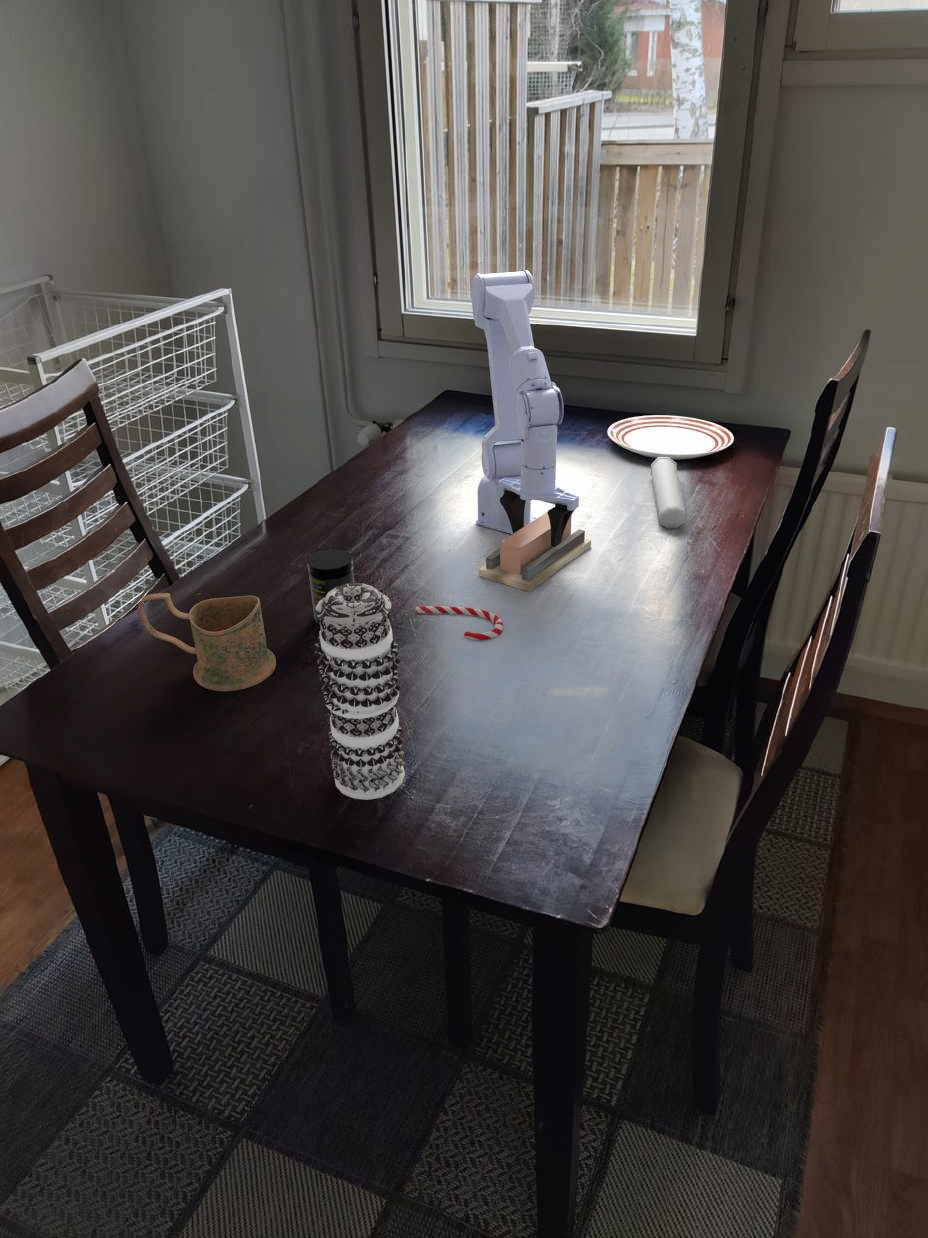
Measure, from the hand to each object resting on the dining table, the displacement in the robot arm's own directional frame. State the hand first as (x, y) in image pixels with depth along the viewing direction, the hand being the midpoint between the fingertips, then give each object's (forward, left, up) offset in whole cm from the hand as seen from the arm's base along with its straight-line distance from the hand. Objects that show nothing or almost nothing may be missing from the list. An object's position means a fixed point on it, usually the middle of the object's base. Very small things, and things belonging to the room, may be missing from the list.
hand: (536, 538), depth 156 cm
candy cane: (+1, -24, -5) cm, 24 cm away
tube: (+8, +34, -5) cm, 36 cm away
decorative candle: (+14, -59, -4) cm, 61 cm away
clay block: (0, 0, -3) cm, 3 cm away
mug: (-20, -54, -4) cm, 58 cm away
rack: (0, 0, -4) cm, 4 cm away
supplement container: (-15, -34, -4) cm, 37 cm away
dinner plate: (-6, +64, -5) cm, 64 cm away
